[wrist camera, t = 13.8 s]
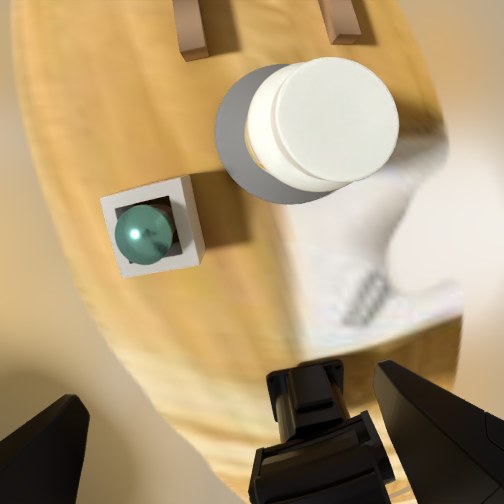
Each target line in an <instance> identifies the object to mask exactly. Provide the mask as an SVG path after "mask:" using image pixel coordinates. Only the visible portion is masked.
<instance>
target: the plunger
mask: <svg viewBox="0 0 504 504" xmlns="http://www.w3.org/2000/svg"><path fill="white" fill-rule="evenodd" d="M175 230H176V224H175V219H174V215H173V211H172V208H171V207H169V206H168V205H166V204H163V203H155V204H152V205H137V206H134V207H132V208H130V209H128V210H127V211H125V212H124V213H123V214H122V215H121V216H120V217H119V219H118V221H117V223H116V227H115V241H116V244H117V247H118V249H119V250H120V252H121V253H122V254H123V256H124V257H125V258H127V259H128V260H129V261H131V262H133V263H135V264H139V265H150V264H154V263H156V262H158V261H159V260H161V259H162V258H163V257H164V256H165V254H166V253H167V252H168V250H169V248H170V246H171V244H172V240H173V233H174V232H175Z"/></svg>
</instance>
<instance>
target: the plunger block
mask: <svg viewBox="0 0 504 504" xmlns="http://www.w3.org/2000/svg"><path fill="white" fill-rule="evenodd" d="M168 195H169V197H170V202H171V206H172V211H173V215H174V219H175V224H176V228H177V232H178V236H179V240H180V242H176V243H172V244H171V246H170V248H169V250H168V252H167V253H166V254H165V256H164V257H163V258H162V259H161V260H159V261H158V262H156V263H154V264H150V265H139V264H135V263H133V262H131V261H129V260H128V259H127V258H125V257H124V256H123V254H122V253H121V252H120V250H119V249H118V247H117V244H116V241H115V227H116V223H117V221H118V219H119V217H120V216H121V215H122V214H123V213H124V212H125V211H127V210H128V209H130V208H132V207H134V205H133V204H134V203H139V202H143V201H147V200H151V199H155V198H159V197H164V196H168ZM100 201H101V206H102V210H103V214H104V218H105V221H106V225H107V229H108V233H109V236H110V240H111V243H112V247H113V250H114V254H115V257H116V260H117V263H118V267H119V270H120V273H121V276H122V278H127V277H133V276H139V275H145V274H151V273H157V272H162V271H168V270H174V269H180V268H186V267H192V266H198V265H200V263H201V260H202V258H203V255H204V252H205V250H206V248H205V243H204V239H203V234H202V230H201V225H200V221H199V216H198V212H197V207H196V202H195V197H194V193H193V188H192V183H191V178H190V174H188V175H184V176H179V177H175V178H171V179H166V180H162V181H158V182H154V183H150V184H146V185H142V186H138V187H134V188H131V189H127V190H123V191H120V192H117V193H114V194H111V195H108V196H105V197H102V198H100Z"/></svg>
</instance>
